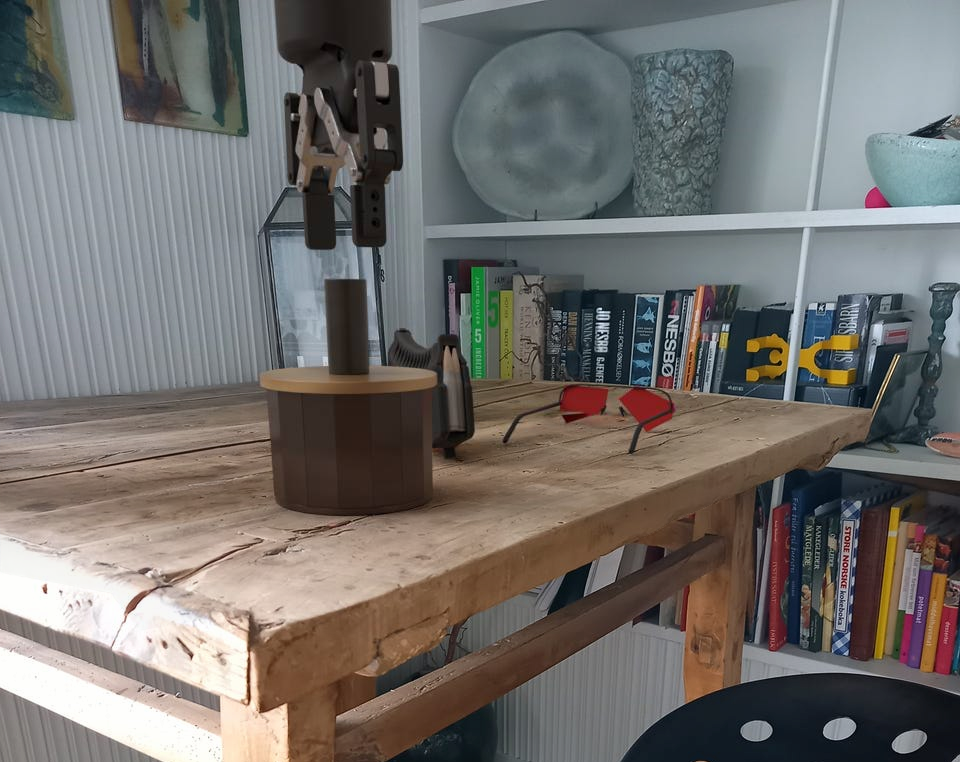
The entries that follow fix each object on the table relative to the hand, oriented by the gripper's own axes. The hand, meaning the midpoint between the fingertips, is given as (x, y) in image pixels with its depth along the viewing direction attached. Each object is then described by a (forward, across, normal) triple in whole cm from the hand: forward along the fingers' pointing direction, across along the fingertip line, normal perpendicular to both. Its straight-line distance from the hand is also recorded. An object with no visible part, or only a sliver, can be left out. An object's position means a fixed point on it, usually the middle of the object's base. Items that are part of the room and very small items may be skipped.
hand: (344, 248), depth 66 cm
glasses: (+18, -14, +34) cm, 41 cm away
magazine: (+18, -22, +18) cm, 34 cm away
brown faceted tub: (+18, 0, 0) cm, 18 cm away
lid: (+9, 0, 0) cm, 9 cm away
